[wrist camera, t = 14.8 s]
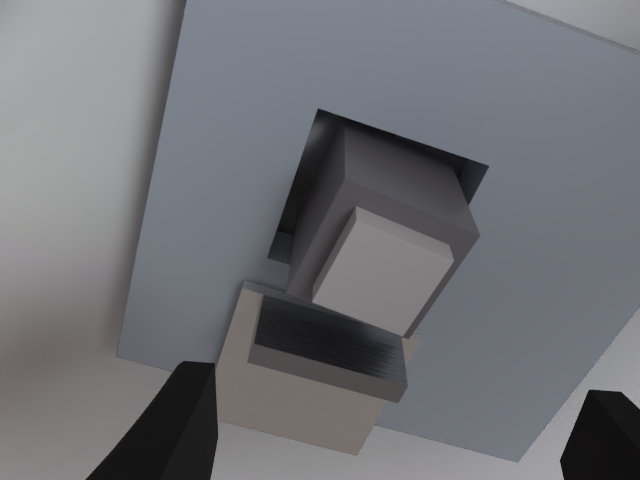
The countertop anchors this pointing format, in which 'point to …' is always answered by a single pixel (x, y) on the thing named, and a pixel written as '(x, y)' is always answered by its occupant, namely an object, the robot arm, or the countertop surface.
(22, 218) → the countertop surface
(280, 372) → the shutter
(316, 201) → the plug
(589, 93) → the socket panel
